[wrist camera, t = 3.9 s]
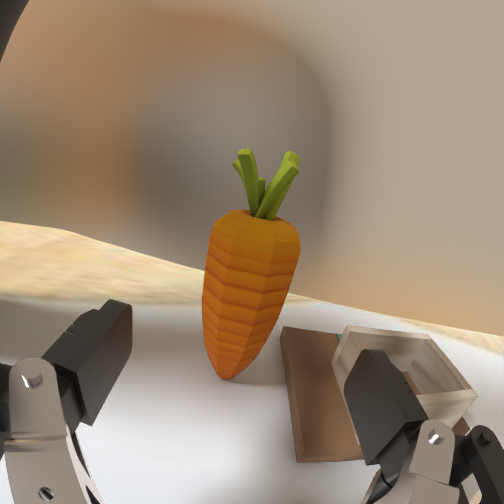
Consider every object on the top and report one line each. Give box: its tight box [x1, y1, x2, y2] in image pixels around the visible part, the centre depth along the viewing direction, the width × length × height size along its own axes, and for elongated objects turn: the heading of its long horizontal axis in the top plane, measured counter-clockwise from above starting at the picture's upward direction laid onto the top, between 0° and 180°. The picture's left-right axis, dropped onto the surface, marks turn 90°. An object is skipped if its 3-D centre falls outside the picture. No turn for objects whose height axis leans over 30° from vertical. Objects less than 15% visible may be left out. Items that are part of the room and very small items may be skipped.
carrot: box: [202, 148, 300, 380], centre depth 16 cm, size 5×5×15 cm
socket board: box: [280, 325, 477, 462], centre depth 18 cm, size 14×13×5 cm
